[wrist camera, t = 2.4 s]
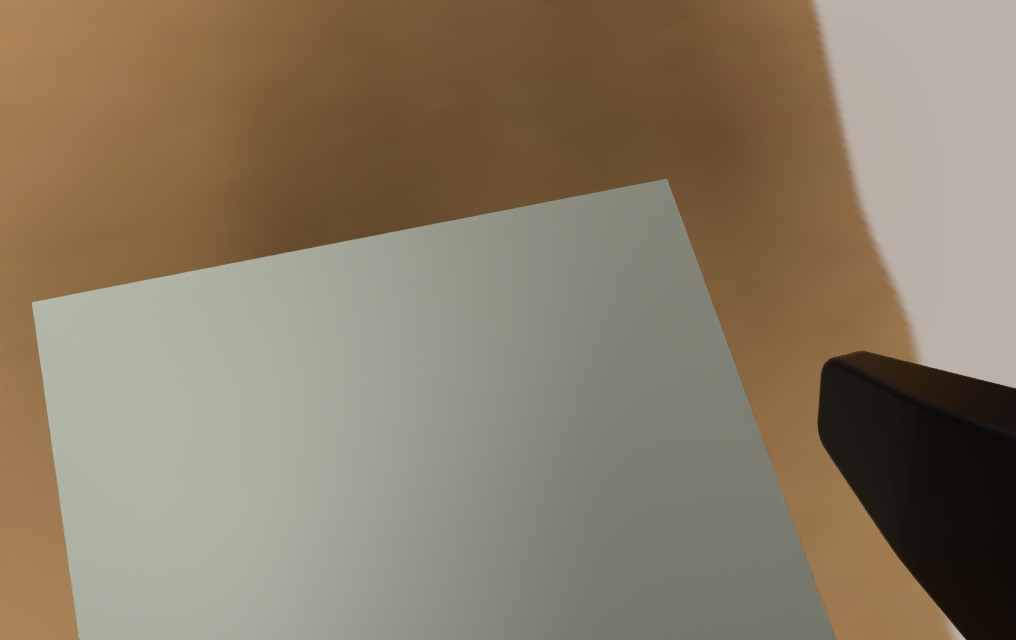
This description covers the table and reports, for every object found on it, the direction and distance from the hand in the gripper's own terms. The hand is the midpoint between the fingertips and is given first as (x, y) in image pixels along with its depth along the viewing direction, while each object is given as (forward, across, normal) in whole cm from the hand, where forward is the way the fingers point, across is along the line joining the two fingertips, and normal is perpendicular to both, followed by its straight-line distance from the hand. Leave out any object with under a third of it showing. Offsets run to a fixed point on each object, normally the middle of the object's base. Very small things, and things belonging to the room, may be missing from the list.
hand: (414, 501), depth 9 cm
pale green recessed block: (+6, 0, +6) cm, 9 cm away
